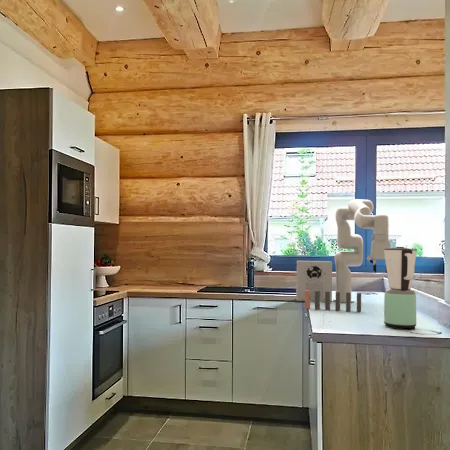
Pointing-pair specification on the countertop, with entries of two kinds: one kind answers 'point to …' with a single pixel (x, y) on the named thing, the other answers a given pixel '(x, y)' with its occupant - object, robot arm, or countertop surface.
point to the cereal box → (313, 279)
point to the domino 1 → (307, 299)
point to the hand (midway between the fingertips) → (380, 272)
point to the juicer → (400, 288)
